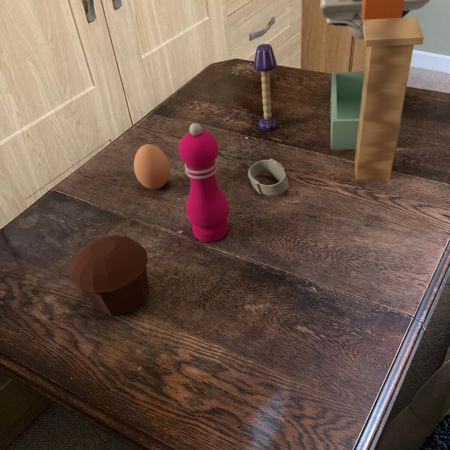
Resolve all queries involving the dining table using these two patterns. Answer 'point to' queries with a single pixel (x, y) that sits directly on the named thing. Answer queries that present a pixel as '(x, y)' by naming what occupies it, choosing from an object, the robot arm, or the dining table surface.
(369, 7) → the mallet
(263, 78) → the toy lamp
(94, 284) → the muffin
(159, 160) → the egg
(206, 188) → the pepper mill
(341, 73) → the bin
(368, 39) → the stand
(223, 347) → the dining table surface
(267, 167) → the grey band loop
